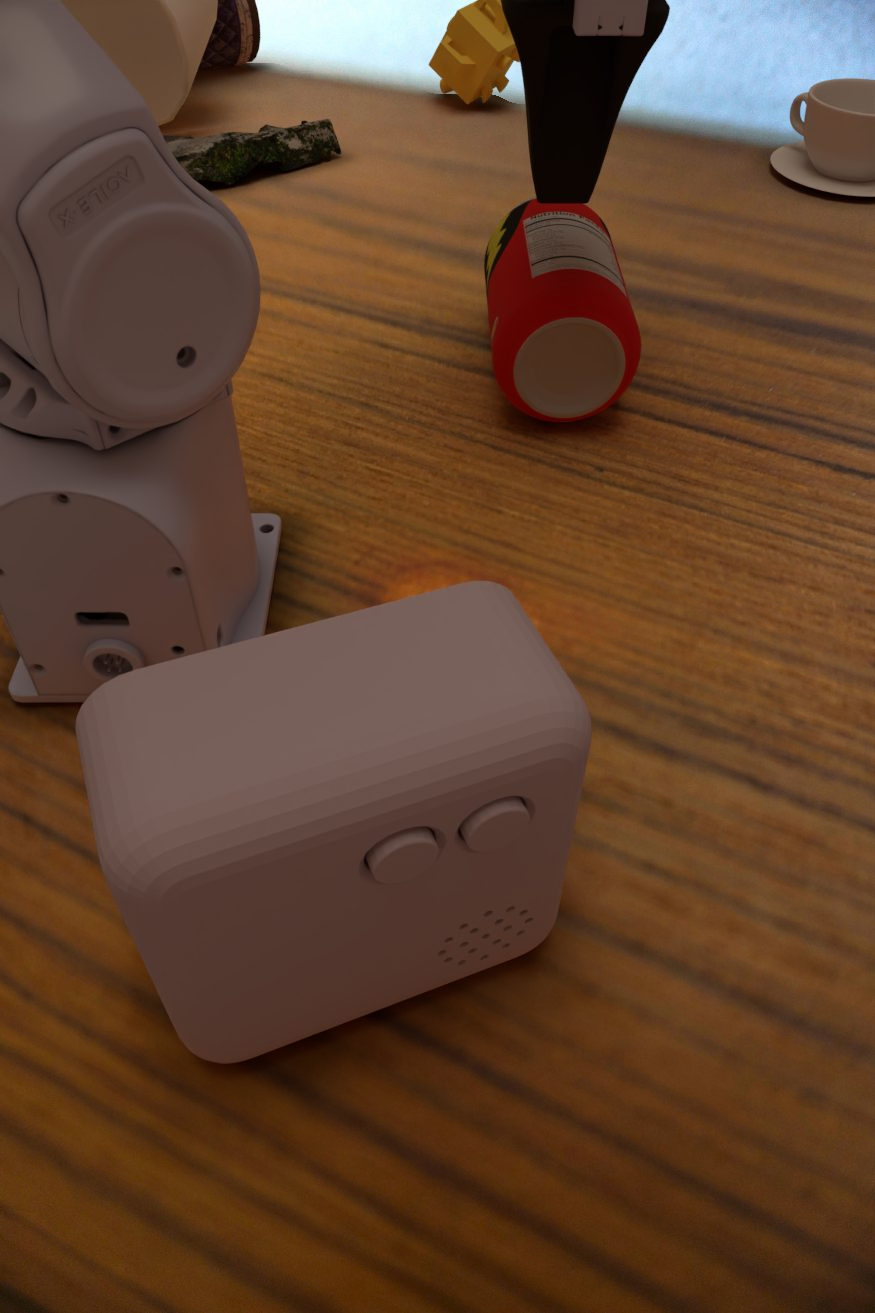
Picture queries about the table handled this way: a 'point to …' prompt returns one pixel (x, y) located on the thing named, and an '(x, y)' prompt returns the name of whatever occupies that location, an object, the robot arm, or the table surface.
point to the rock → (253, 150)
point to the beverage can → (558, 312)
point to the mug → (233, 35)
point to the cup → (151, 44)
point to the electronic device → (336, 812)
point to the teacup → (833, 138)
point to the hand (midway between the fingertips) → (561, 196)
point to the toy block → (475, 52)
